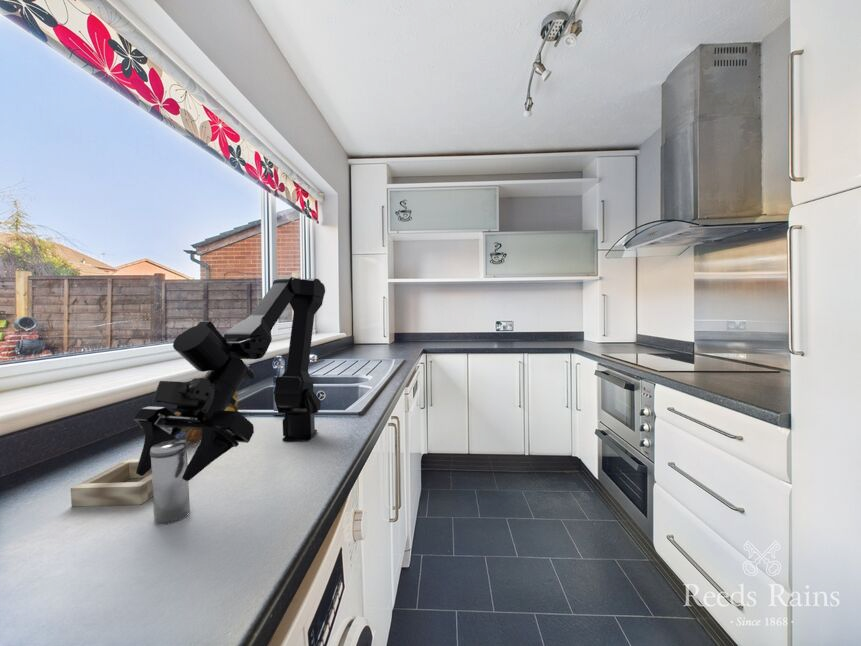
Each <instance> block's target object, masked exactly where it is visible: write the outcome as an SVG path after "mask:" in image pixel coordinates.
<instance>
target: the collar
mask: <svg viewBox="0 0 861 646" xmlns="http://www.w3.org/2000/svg"><path fill="white" fill-rule="evenodd" d="M139 460H140V458H130V459H129V458H128V459H125V460H123V461H121V462H119V463H118V464H116V465H113V466H111V467H109V468H107V469H106V470H103V471H102V472H99V473H98V474H96V475H94V476H92V477H90V478H88V479H86V480H84V481H82V482H80V483H79V484H76V485H74V486H72V487H70V498H71V500H70V501H71V503H70V504H71V507H99V506H102V507H103V506H106V507H107V506H136V505H138V506H140V504H141V505H143V504H144V503H146V502H147V501H149V500H150V499H151V498H153V497H152V496H153V486H152V468H151V469H150V470H149V471H148V472H146V473H145V474H144V475H143V476H140V475H138V474H136V471H137V467H138V464H139ZM129 479H141V480H138V481H132V482H131V481H127V480H129ZM149 498H150V499H149ZM146 500H147V501H146Z"/></svg>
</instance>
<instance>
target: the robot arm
mask: <svg viewBox="0 0 861 646" xmlns="http://www.w3.org/2000/svg"><path fill="white" fill-rule="evenodd" d="M325 295H326V286H325V284H324V283H323V282H322V281H321V280H320V279H319V278H297V277H294V276H288V277H287V276H285V277H277V278H275V279H274V280H273V281H272V286H271V287H270V289H269V290H268V291H267V293H265V295H264V297H263V298H262V299H261V300H260V302H259V303H258V304H257V305H256V307H255V308H254V310H253V311H252V312H251V313H250V315H249V316H248V317H247V318H245V319H243V320H241V321H238V322H237V323H235V324H234V325H232V327H230V328H229V329H228V330H227V331H226V332H225V333H224V335H222V334H221V332H219V330H217V328H216V326H215V325H214V323H213V322H212V321H210V320H206V321H201V320H200V321H199V322H198V323H197V325H194V326H192V327H190V328H188V329H186V330H185V331H183V332H182V333H180V334H178V335H177V336H176V337H175V339H174V341H173V344H172V348H173V349H174V350H175V351H176V352H177V353H178V354H179V355H180V356H181V357H182V358H183V359H185V360H186V361H187V362H188V363H189V364H190V365H191V366H192V367H193V368H194V369H195V370H196V371H198V372H201V373H202V372H206V373H205V375H204V376H203V378H201V377H200V378H198V377H197V378H193V379H192V380H191V381H190V382H186V381H184V382H183V381H173V380H170V381H169V380H160V381H159V382H158V385H157V388H156V391H155V392H154V396H153V399H152V403H157V404H158V403H164V404H168V405H172V406H171V409H172V410H174V411H175V412H180V413H181V414H180V416H177V415H175V414H174V413H175V412H172V411H171V410H169V409H168V408H167V407H166V406H165V407H164V406H146V407H142V408H140V409H139V411H138V412H137V414H136V415H135V416H134V418H133V421H135V422H136V423H137V424H138V425H139V428H141V429H142V430H143V433H144V442H143V447H142V451H141V453H140V457H139V459H140V460H139V464H138V467H137V471H136V474H138V475H140V476H143V475H144V474H145V473H146V472H148V471H149V470H150V469H151V468H152V467H151V456H150V450H151V447H152V446H154V445H156V444H158V443H162V442H165V441H170V440H178V439H177V438H175V437H174V436H175V435H177V434H178V433H180V431H181V430H182V429H195V430H202V440H200V441H199V445H198V446H197V448H196V450H195V452H194V454H193V455H192V457H191V459H190V461H189V462H188V466H187V468H186V470H185V472H184V475H183V477H182V479H184V480H185V481H190V480H192V479H193V478H194V477H196V476H197V475H198V474H199V473H200V472H201V471H203V470H205V468H206V467H208V466H209V465H210V464H212V463H213V462H214V461H215V460H217V459H218V458H220V457H221V456H222V455H224V454H225V453H227V452H228V451H229V450H231V449H233V448H234V447H235V448H236V447H238V446H239V445H240V443H244V444H245V443H246V444H248V443H249V442H250V440H251V439H252V437H253V435H254V433H255V427H254V424H253V423H252V422H251V421H250V420H249V419H248V418H246V416H245V415H244V414H243V413H241V412H240V411H239V410H238V411H225V409H226V408H227V406H234V404H235V402H236V400H235V399H234V398H233V396H234V394H235V392H236V391H237V390H238V389H239V387H240V385H241V384H242V382H243V380H254V379H255V374H254V371H253V369H252V364H246V362H244V361H243V360H259V359H262V358H264V356H265V355H266V353H267V352H268V349H269V346H270V345H271V342H272V341H273V338H272V330H273V327H274V326H275V325H276V323H277V322H278V320H279V318H280V317H281V315H282V314H283V313H284V311H285V310H286V308H287V307H288V305H290V306H291V309H292V311H293V314H292V315H293V316H292V324H291V331H290V338H289V339H290V340H289V347H288V352H287V353H288V355H287V363H286V369H285V371H284V372H283V374H282V375H281V376H277V377H276V378H275V380H274V381H275V384H274V387H275V390H274V392H273V391H272V392H273V394H274V395H273V401H274V400H275V403H276V406H277V409H278V413H285V414H284V415H283V417H284V418H283V419H282V436H283V438H282V442H295V441H296V442H297V441H299V442H301V441H302V442H304V441H311V440H312V438H313V437H314V436H315V435H316V434H317V432H318V430H317V429H316V426H315V425H316V424H315V423H316V422H315V419H316V418H315V414H317V413H319V411H320V410H321V404H322V403H321V402H322V400H320V398H319V397H318V396H317V394H316V393H315V391H314V382H313V380H312V377H311V375H310V373H309V367H310V365H309V364H310V357H311V356H310V355H311V349H312V340H313V330H314V321H315V315H316V313H317V312H318V310H319V309H320V308H321V307H322V306H323V303H324V297H325ZM237 392H238V391H237ZM188 422H189V423H188Z"/></svg>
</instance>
